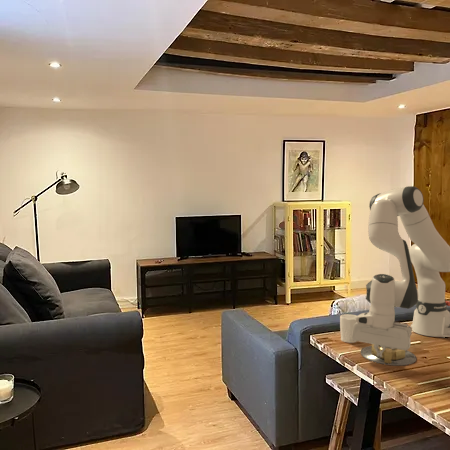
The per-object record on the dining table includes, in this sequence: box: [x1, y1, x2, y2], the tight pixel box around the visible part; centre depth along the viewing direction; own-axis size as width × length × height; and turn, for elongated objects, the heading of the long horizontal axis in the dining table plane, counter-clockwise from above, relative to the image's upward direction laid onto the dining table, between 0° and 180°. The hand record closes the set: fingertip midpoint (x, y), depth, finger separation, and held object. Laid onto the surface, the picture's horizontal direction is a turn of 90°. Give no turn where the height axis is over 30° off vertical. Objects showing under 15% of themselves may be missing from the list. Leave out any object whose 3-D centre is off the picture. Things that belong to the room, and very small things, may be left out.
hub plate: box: [360, 345, 417, 367], centre depth 176 cm, size 20×20×5 cm
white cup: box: [339, 313, 358, 344], centre depth 193 cm, size 8×8×10 cm
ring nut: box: [371, 344, 405, 363], centre depth 174 cm, size 16×12×4 cm
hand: (379, 356), depth 169 cm, fingers closed
